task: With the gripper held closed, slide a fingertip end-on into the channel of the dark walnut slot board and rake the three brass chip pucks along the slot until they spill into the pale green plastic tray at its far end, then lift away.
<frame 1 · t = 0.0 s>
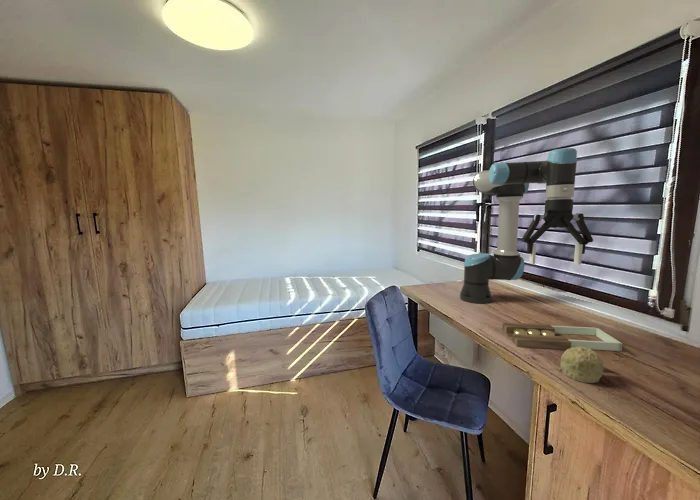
hand: (554, 263, 98), 28 cm above the table, fingers open, 13 cm apart
chip b: (533, 337, 104), point 1 cm above the table, touching slot board
chip a: (520, 337, 105), point 1 cm above the table, touching slot board
chip c: (547, 339, 103), point 1 cm above the table, touching slot board
tray: (583, 343, 101), on the table
slot board: (533, 340, 104), on the table
decorative object: (580, 375, 83), on the table
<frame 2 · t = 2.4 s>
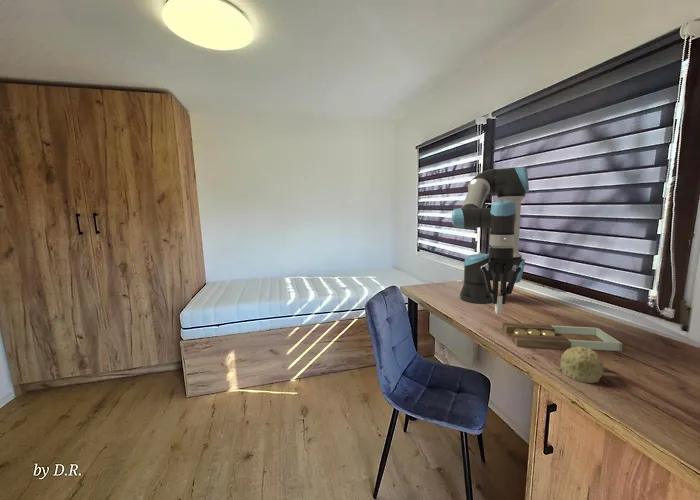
hand: (498, 312, 105), 10 cm above the table, fingers closed
nothing on the table moved.
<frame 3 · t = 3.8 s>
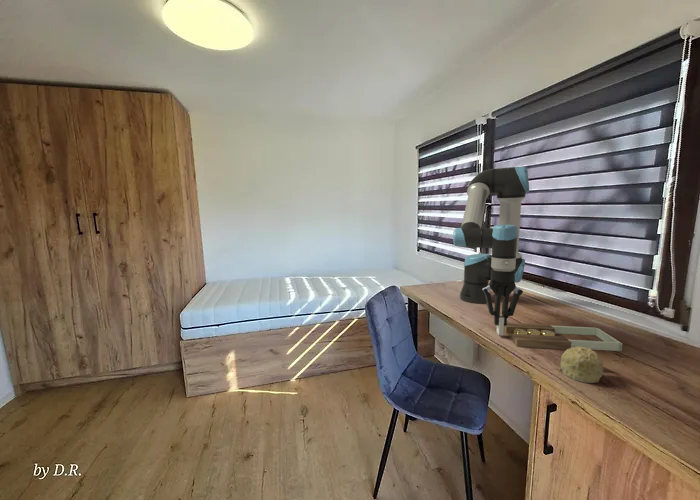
hand: (499, 333, 106), 2 cm above the table, fingers closed
nothing on the table moved.
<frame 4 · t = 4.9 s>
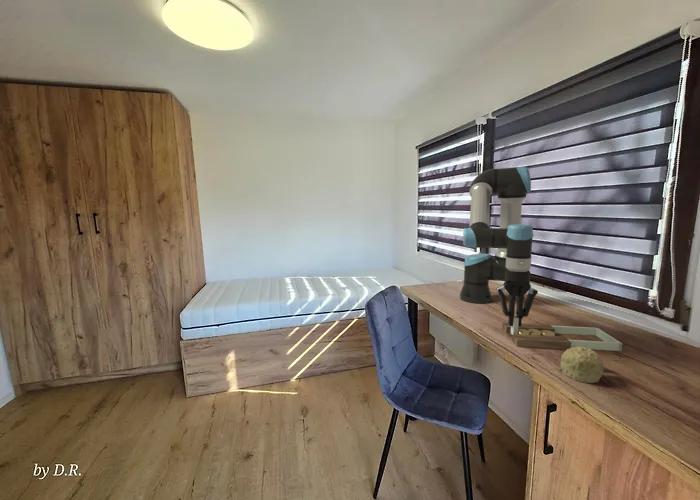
hand: (514, 334, 105), 2 cm above the table, fingers closed
chip b: (534, 337, 104), point 1 cm above the table, touching chip a
chip a: (522, 337, 104), point 1 cm above the table, touching chip b, gripper
everything else where it was.
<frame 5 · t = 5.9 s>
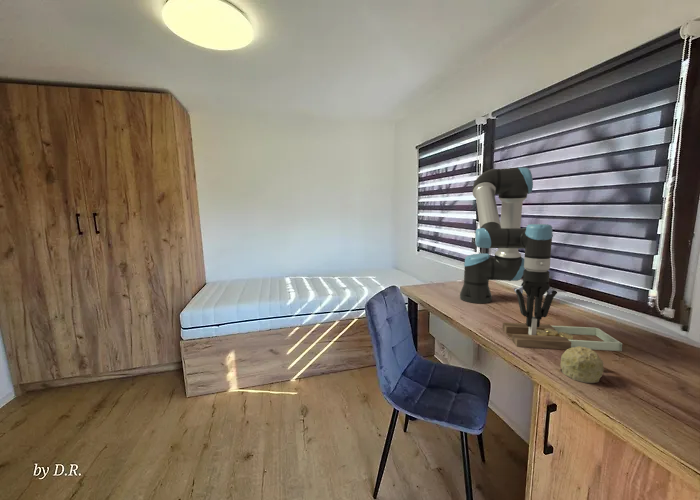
hand: (532, 335, 104), 2 cm above the table, fingers closed
chip b: (550, 337, 104), point 1 cm above the table, touching chip a, chip c, slot board
chip a: (540, 338, 104), point 1 cm above the table, touching chip b, gripper
chip c: (564, 341, 102), point 1 cm above the table, tilted 8°, touching chip b, slot board
everything else where it was.
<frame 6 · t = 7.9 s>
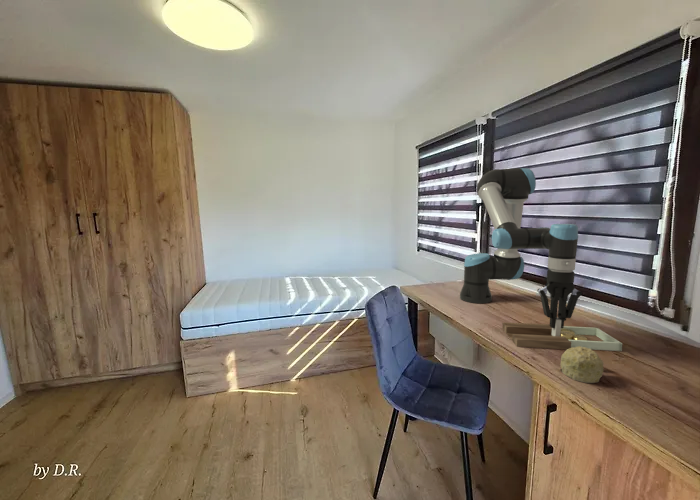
hand: (555, 336, 103), 2 cm above the table, fingers closed
chip b: (567, 337, 105), resting on tray, touching chip a
chip a: (564, 340, 102), point 1 cm above the table, touching chip b, chip c, gripper, slot board
chip c: (579, 343, 100), point 1 cm above the table, touching chip a, tray
everything else where it was.
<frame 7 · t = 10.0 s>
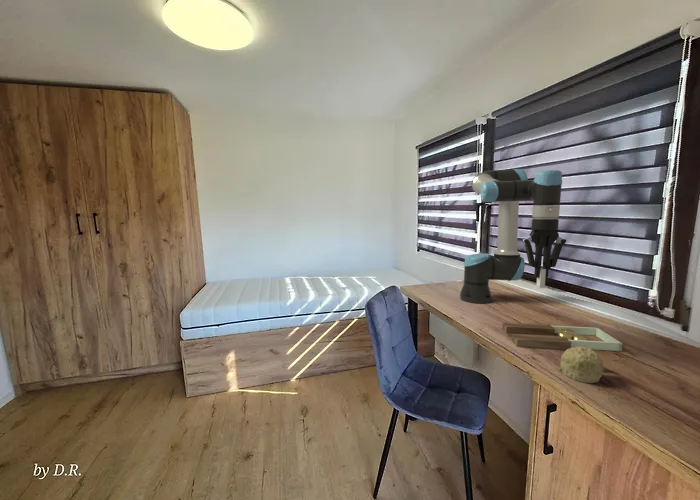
hand: (540, 286, 102), 19 cm above the table, fingers closed
chip b: (567, 337, 105), resting on tray
chip a: (564, 340, 102), point 1 cm above the table, touching slot board
chip c: (579, 344, 100), resting on tray
everything else where it was.
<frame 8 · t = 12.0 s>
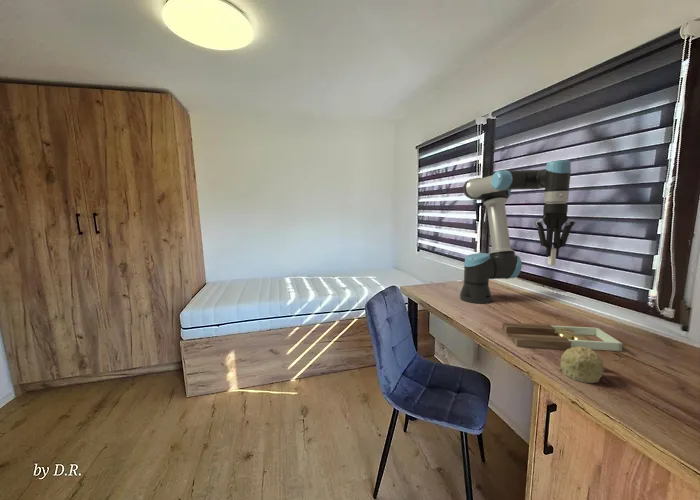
hand: (551, 264, 114), 24 cm above the table, fingers closed
chip b: (566, 337, 105), resting on tray, touching chip a
chip a: (564, 340, 102), point 1 cm above the table, touching chip b, chip c, slot board
chip c: (579, 344, 100), resting on tray, touching chip a
everything else where it was.
at the end: chip a inside the target area on the tray (5.9 cm from its centre), point 0.9 cm above the tray's base; chip b inside the target area on the tray (4.7 cm from its centre), point 0.5 cm above the tray's base; chip c inside the target area on the tray (2.6 cm from its centre), point 0.5 cm above the tray's base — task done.
